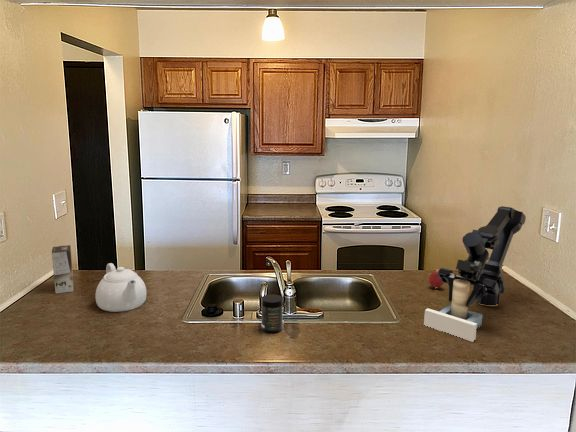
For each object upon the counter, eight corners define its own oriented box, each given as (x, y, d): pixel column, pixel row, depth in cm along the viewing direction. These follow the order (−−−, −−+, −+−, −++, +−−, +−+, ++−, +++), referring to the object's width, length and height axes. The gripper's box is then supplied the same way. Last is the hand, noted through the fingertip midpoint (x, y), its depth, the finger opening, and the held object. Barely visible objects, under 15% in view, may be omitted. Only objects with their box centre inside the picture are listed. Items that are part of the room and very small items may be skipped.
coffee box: (74, 291, 175) (70, 250, 172) (55, 294, 172) (51, 252, 169) (73, 283, 183) (70, 244, 180) (55, 285, 181) (52, 246, 177)
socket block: (448, 315, 157) (449, 304, 156) (481, 326, 150) (482, 314, 149) (433, 325, 149) (434, 314, 148) (467, 337, 142) (468, 324, 141)
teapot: (156, 295, 173) (155, 260, 170) (136, 315, 155) (133, 276, 152) (109, 292, 175) (106, 258, 172) (83, 312, 157) (80, 274, 154)
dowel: (454, 317, 153) (457, 278, 150) (469, 322, 149) (473, 282, 146) (447, 322, 149) (450, 281, 146) (462, 327, 146) (465, 286, 143)
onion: (440, 292, 180) (442, 273, 179) (426, 289, 184) (427, 270, 182) (445, 288, 185) (447, 269, 183) (431, 285, 188) (432, 266, 186)
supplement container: (286, 330, 145) (287, 299, 143) (267, 335, 142) (268, 304, 140) (275, 322, 151) (276, 292, 149) (257, 327, 147) (257, 296, 145)
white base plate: (450, 310, 163) (451, 294, 162) (496, 324, 153) (498, 307, 151) (423, 327, 150) (424, 309, 148) (472, 344, 139) (474, 325, 137)
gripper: (442, 244, 153) (423, 283, 148) (500, 256, 141) (482, 300, 135) (450, 261, 161) (433, 300, 155) (506, 274, 148) (489, 317, 142)
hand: (458, 303), depth 147 cm, fingers open, 5 cm apart
